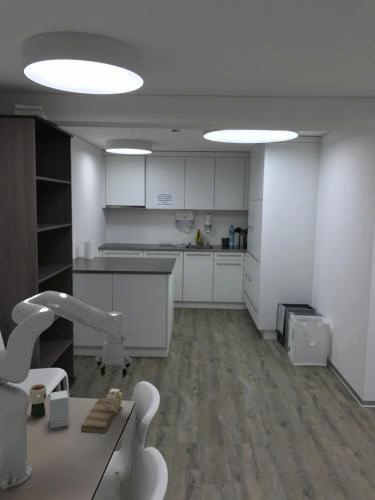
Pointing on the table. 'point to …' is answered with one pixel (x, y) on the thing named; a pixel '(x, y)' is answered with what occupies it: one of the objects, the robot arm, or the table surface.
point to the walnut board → (98, 418)
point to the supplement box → (58, 409)
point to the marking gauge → (113, 400)
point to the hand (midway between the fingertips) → (113, 375)
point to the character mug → (37, 399)
